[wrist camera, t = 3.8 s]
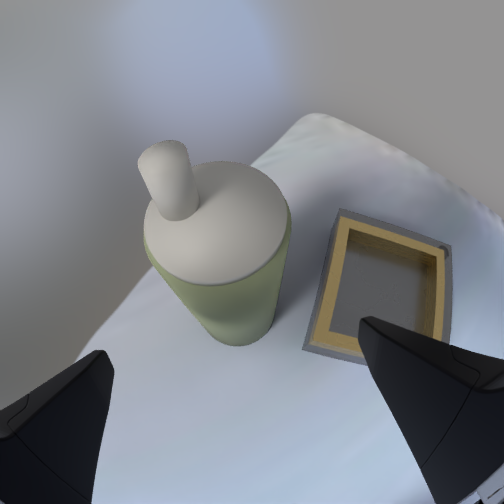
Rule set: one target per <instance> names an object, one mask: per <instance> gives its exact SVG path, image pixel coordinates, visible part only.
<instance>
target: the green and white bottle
mask: <svg viewBox="0 0 504 504" xmlns="http://www.w3.org/2000/svg"><path fill="white" fill-rule="evenodd" d="M138 168H139V170H140V172H141V175H142V177H143V179H144V181H145V183H146V185H147V187H148V190H149V192H150V194H151V196H152V200H151V202H150V204H149V206H148V209H147V211H146V215H145V220H144V244H145V249H146V252H147V255H148V257H149V259H150V261H151V262H152V264H153V266H154V267H155V268H156V270H157V271H158V272H159V274H160V275H161V276H162V277H163V279H164V280H165V281H166V283H167V284H168V285H169V286H170V288H171V289H172V290H173V291H174V293H175V294H176V295H177V296H178V297H179V299H180V300H181V301H182V302H183V303H184V305H185V306H186V307H187V308H188V309H189V311H190V312H191V313H192V314H193V315H194V317H195V318H196V319H197V320H198V321H199V322H200V323H201V325H202V326H203V327H204V328H205V329H206V330H207V331H208V333H209V334H210V335H211V336H212V337H213V338H215V339H216V340H217V341H219V342H221V343H223V344H226V345H230V346H245V345H249V344H252V343H254V342H256V341H258V340H259V339H260V338H262V337H263V336H264V335H265V334H266V333H267V331H268V330H269V328H270V327H271V325H272V322H273V319H274V314H275V309H276V305H277V300H278V295H279V290H280V285H281V280H282V275H283V270H284V265H285V260H286V255H287V250H288V245H289V239H290V234H291V214H290V210H289V206H288V204H287V202H286V200H285V198H284V196H283V195H282V192H281V191H280V189H279V188H278V186H277V185H276V184H275V183H274V182H273V180H271V179H270V178H269V177H268V176H267V175H265V174H264V173H262V172H261V171H259V170H257V169H255V168H253V167H251V166H248V165H245V164H241V163H236V162H227V161H226V162H225V161H219V162H209V163H203V164H200V165H196V166H193V167H191V164H190V160H189V156H188V152H187V149H186V147H185V145H184V144H183V143H181V142H178V141H174V140H168V141H162V142H159V143H156V144H154V145H152V146H150V147H149V148H147V149H146V150H145V151H144V152H143V153H142V154H141V156H140V158H139V160H138Z"/></svg>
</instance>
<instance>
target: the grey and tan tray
mask: <svg viewBox="0 0 504 504" xmlns="http://www.w3.org/2000/svg"><path fill="white" fill-rule="evenodd" d="M367 316H373V317H376V318H379V319H382V320H384V321H387V322H390V323H392V324H395V325H398V326H401V327H403V328H406V329H409V330H411V331H414V332H417V333H420V334H423V335H425V336H428V337H431V338H434V339H436V340H439V341H442V342H445V343H448V344H449V342H450V331H451V317H452V254H451V246H450V245H448V244H445V243H442V242H440V241H437V240H434V239H432V238H429V237H426V236H423V235H421V234H418V233H415V232H412V231H409V230H406V229H404V228H401V227H398V226H395V225H392V224H389V223H386V222H383V221H380V220H376V219H373V218H370V217H367V216H364V215H361V214H357V213H354V212H351V211H347V210H344V209H341V208H340V209H339V212H338V214H337V217H336V219H335V222H334V224H333V227H332V230H331V235H330V240H329V245H328V249H327V254H326V258H325V263H324V267H323V272H322V276H321V280H320V284H319V288H318V292H317V296H316V300H315V304H314V308H313V312H312V315H311V319H310V323H309V326H308V330H307V334H306V337H305V341H304V344H303V347H302V350H304V351H308V352H312V353H316V354H320V355H324V356H328V357H332V358H336V359H340V360H344V361H348V362H353V363H357V364H362V365H366V366H368V365H367V363H366V360H365V358H364V355H363V353H362V350H361V348H360V346H359V343H358V330H359V321H360V319H361V318H363V317H367Z"/></svg>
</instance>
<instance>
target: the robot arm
mask: <svg viewBox="0 0 504 504" xmlns="http://www.w3.org/2000/svg"><path fill="white" fill-rule="evenodd" d="M358 343H359V346H360V348H361V350H362V353H363V355H364V358H365V360H366V363H367V365H368V368H369V370H370V372H371V375H372V377H373V379H374V381H375V383H376V385H377V386H378V388H379V390H380V392H381V394H382V396H383V397H384V399H385V401H386V403H387V405H388V407H389V409H390V410H391V412H392V414H393V416H394V418H395V420H396V422H397V424H398V426H399V428H400V430H401V432H402V434H403V436H404V437H405V439H406V441H407V443H408V445H409V447H410V449H411V451H412V453H413V455H414V458H415V460H416V462H417V464H418V466H419V468H420V470H421V472H422V475H423V477H424V479H425V481H426V483H427V485H428V487H429V490H430V492H431V494H432V496H433V498H434V501H435V503H436V504H459V503H461V502H462V501H464V500H465V499H466V498H468V497H469V496H471V495H472V494H473V493H475V492H476V491H477V493H478V495H479V496H480V498H481V499H480V500H478V501H477V502H476V503H474V504H504V360H503V359H499V358H495V357H491V356H486V355H483V354H479V353H475V352H471V351H468V350H465V349H462V348H459V347H456V346H454V345H449V344H448V343H445V342H442V341H439V340H436V339H434V338H431V337H428V336H425V335H423V334H420V333H417V332H414V331H411V330H409V329H406V328H403V327H401V326H398V325H395V324H392V323H390V322H387V321H384V320H382V319H379V318H376V317H373V316H367V317H363V318H361V319H360V321H359V330H358ZM113 379H114V368H113V365H112V363H111V361H110V359H109V357H108V355H107V353H106V351H104V350H94V351H93V352H91V353H90V354H88V355H86V356H85V357H83V358H82V359H80V360H79V361H77V362H76V363H74V364H73V365H71V366H70V367H68V368H67V369H65V370H63V371H62V372H60V373H59V374H57V375H56V376H54V377H53V378H51V379H50V380H48V381H47V382H45V383H44V384H42V385H41V386H39V387H37V388H36V389H34V390H33V391H31V392H30V394H27V395H25V396H24V397H22V398H21V399H19V400H17V401H16V402H14V403H13V404H11V405H9V406H7V407H6V408H4V409H2V410H0V504H91V502H92V494H93V487H94V480H95V474H96V468H97V462H98V457H99V451H100V446H101V442H102V437H103V432H104V428H105V423H106V419H107V415H108V411H109V406H110V399H111V392H112V385H113Z"/></svg>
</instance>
